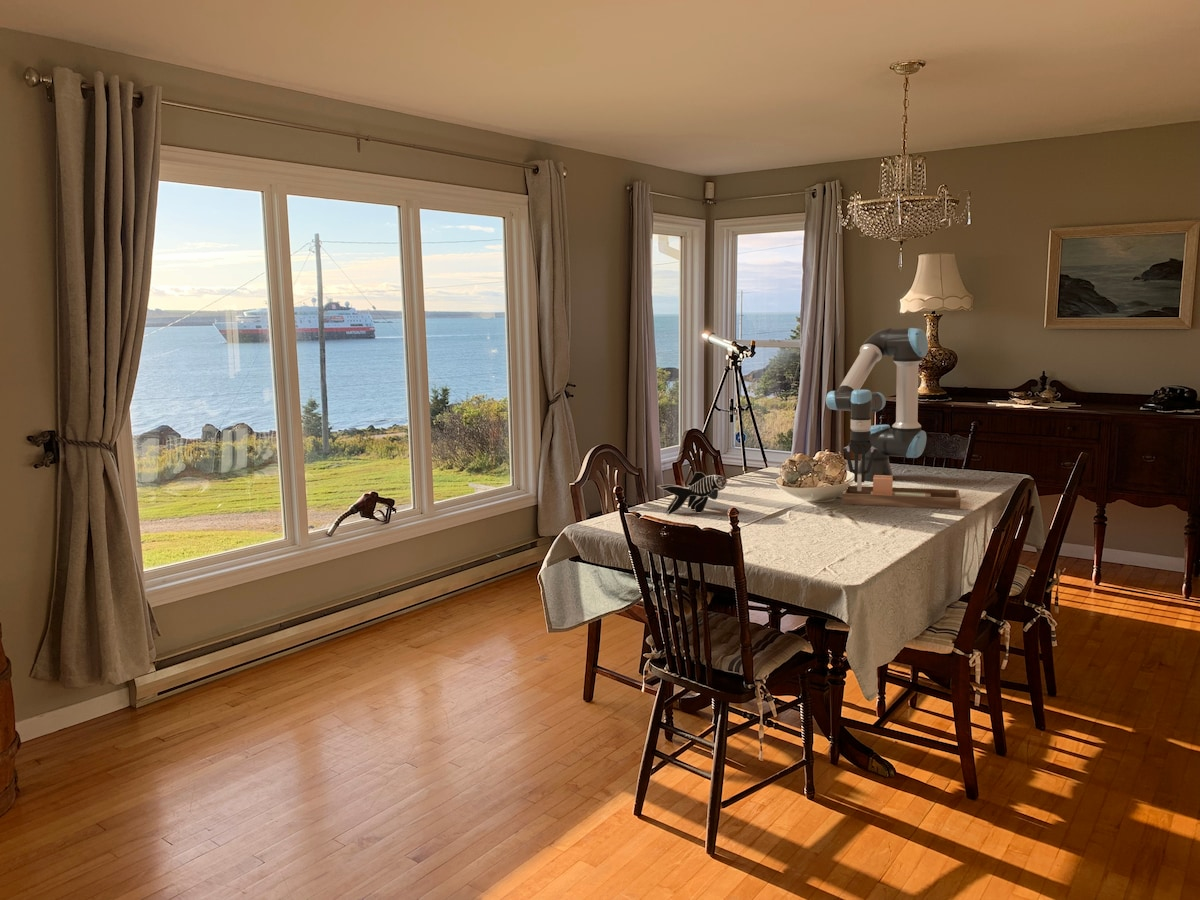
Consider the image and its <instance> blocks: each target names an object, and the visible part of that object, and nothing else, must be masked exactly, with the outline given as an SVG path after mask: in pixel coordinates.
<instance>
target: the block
mask: <svg viewBox="0 0 1200 900" xmlns="http://www.w3.org/2000/svg"><path fill="white" fill-rule="evenodd" d="M893 477H894V475H893V476H886V475H874V477H873V481H872V487H873V495H892V487H894V486H893V485H894V484H893V481H894V480H893V479H894V478H893Z"/></svg>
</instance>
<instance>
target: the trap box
mask: <svg viewBox="0 0 1200 900" xmlns="http://www.w3.org/2000/svg"><path fill="white" fill-rule="evenodd" d="M848 486H849V487H848V489H846V490H845V491H842V496H841V497H842V498H841V503H842V505H853V504H855V505H856V506H857V505H859V506H878V507H879V506H881V507H900V508H903V507H904V508H919V509H920V508H921V509H922V508H923V509H924V508H925V509H942V510H943V509H944V510H961V506H962V505H961V502H962V500H961V494H960V491H959V489H947V488H946V489H944V488H940V489H939V488H921V487H920V488H917V487H895V486H892V495H873V486H871V485H870V486H869V485H862V490H861V491H857V485H848Z"/></svg>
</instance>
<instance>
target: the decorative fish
mask: <svg viewBox="0 0 1200 900" xmlns="http://www.w3.org/2000/svg"><path fill="white" fill-rule="evenodd" d="M693 474H694V475H693V476H692V478H691V479H690V481H689V482H688V483H687V487H683V486H682V485H677V484H669V483H668V484H659V485H657V486H656V487H658V488H659V489H660V490H662V491H663V492H667V493H668V494H670V495H673V496H674V497H673V499H672V500H671V501H670V503H669V504H668V506H667V508H666V509H665V511H664V512H663V514H666V516H670V515H671V514H673V513H675V512H677V511H679V510H680V509H681V508H682V507H683V506H684V505H685V503H686V502H687V509H689V508H690V510H691V509H695V510H694V512H695V513H696V512H701V513H703V512H704V510H705V508H706V506H707V503H708V501H709V498H710V499H712V500H714V501H715V500H718V498H719V492H720V491H722V490H724V489H725V488H726V486H727V484H728V479H727V478H726V477H724V476H723V475H718V474H712V475H706V474H705V473H704V472H702V471H699V472H698V471H694V473H693ZM687 500H688V501H687Z"/></svg>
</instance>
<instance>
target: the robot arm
mask: <svg viewBox="0 0 1200 900" xmlns="http://www.w3.org/2000/svg"><path fill="white" fill-rule="evenodd" d="M928 351H929V340H928V337H927V334H926V333H925V330H924V329H922V328H915V327H901V328H900V327H899V328H898V327H897V328H892V327H889V328H888V327H887V328H883V329H879V330H878V331H875V332H874V333H873V334H871V335H869V337H868V338H867V339H865V341H864V342H863V343H862V344H861V346H860V347H859V354H858V356H857V357H856V359H855V361H854V362H853V364H852V366H851V367H850V369H849V370H848V372H847V374H846V376H845V377H844V378H843V380H842V382H841V383H840V385H839V387H838V389H837V390H830V391H829V392H827V394H826V398H825V403H826V406H827V408H828V409H829V410H833V411H844V412H845V411H848V412H850V438H849V439H850V440H849V443H848V445H847V446H845V447H843V449H842V450H843V452H844V454H845V458H846V461H847V465H848V469H849V470H848V471H849V472H850V473H852V474H853V475H854V476H853V477H854V478H853V479H854V483H857V484H856V486H857V491H861V490H862V486H863V484H862V483H865V481H866V482H867V481H868V482H873V477H874V475H886V476H893V477H894V474H893V471H892V468H891V467H892V466H891V463H890V457H901V458H907V459H909V458H911V459H917V458H919V457H920V456H921V455H922V454H923V453H924V450H925V449H926V445H927V438H928V437H927V433H926V431H925V430H922V425H921V424H920V423H919V422H918V418H919V417H918V415H919V414H918V412H919V410H918V409H919V365H920V364H921V363H922V362H923V358H924V357H926V356H927V354H928ZM883 357H892V362H893V363H894V364H895V366H896V393H895V395H896V401H895V403H896V405H895V406H896V407H895V422H894V423H893V424H892V425H891V426H890V424H874V425H872V413H877V412H879V411H881V410H883V409H884V408H885V406H886V401H887V400H886V397H885V396H884V394H883V393H881V392H878V391H871V390H870V389H861V388H862V386H863V385H864V383H865V382H866V380H867V378H868V376H869V375H870V373H871V372H872V370H873V368H874V367H875V365H876V363H878V362H880V361H881V360H882V358H883ZM850 451H852V453H853V454H854V467H853V463H852V458H851V454H850ZM859 455H860V462H859Z"/></svg>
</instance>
